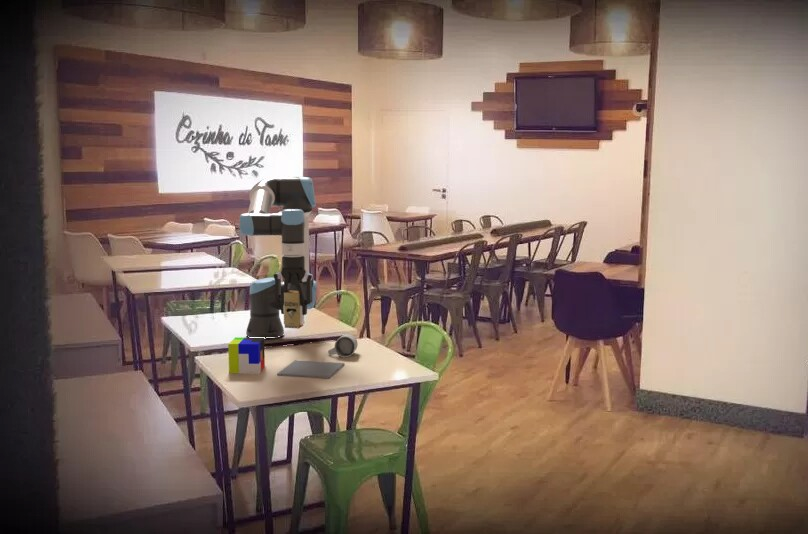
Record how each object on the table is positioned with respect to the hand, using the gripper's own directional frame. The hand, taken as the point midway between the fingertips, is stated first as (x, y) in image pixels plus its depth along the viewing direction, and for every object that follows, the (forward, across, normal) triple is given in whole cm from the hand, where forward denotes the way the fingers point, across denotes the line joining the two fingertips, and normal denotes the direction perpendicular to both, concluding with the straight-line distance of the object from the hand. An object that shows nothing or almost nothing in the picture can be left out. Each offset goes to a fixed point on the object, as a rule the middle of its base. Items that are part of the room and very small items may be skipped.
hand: (294, 323), depth 266 cm
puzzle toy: (+16, -16, -4) cm, 23 cm away
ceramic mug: (+16, +10, +23) cm, 30 cm away
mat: (+16, +6, 0) cm, 17 cm away
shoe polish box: (+1, 0, 0) cm, 1 cm away
